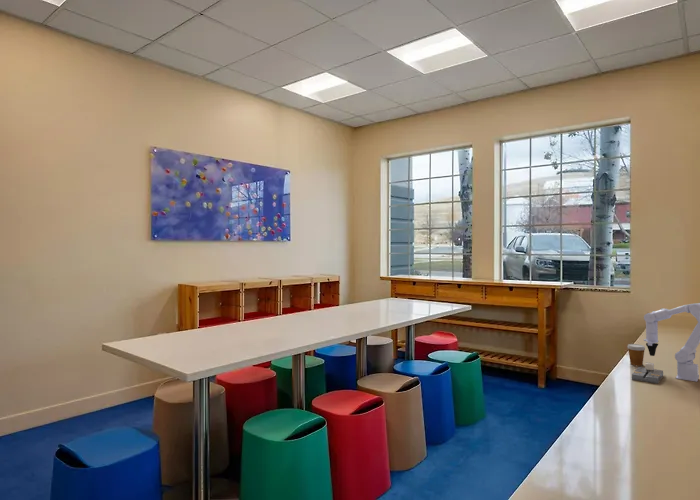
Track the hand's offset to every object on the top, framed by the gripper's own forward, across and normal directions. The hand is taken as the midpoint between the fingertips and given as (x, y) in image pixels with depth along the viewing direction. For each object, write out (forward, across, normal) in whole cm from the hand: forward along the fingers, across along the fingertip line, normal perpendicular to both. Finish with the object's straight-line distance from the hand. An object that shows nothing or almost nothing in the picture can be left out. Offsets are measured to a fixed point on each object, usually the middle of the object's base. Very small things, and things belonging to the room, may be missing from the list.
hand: (652, 355), depth 256 cm
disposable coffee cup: (+10, -11, -10) cm, 18 cm away
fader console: (+9, +16, 0) cm, 19 cm away
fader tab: (+7, +9, 0) cm, 12 cm away
